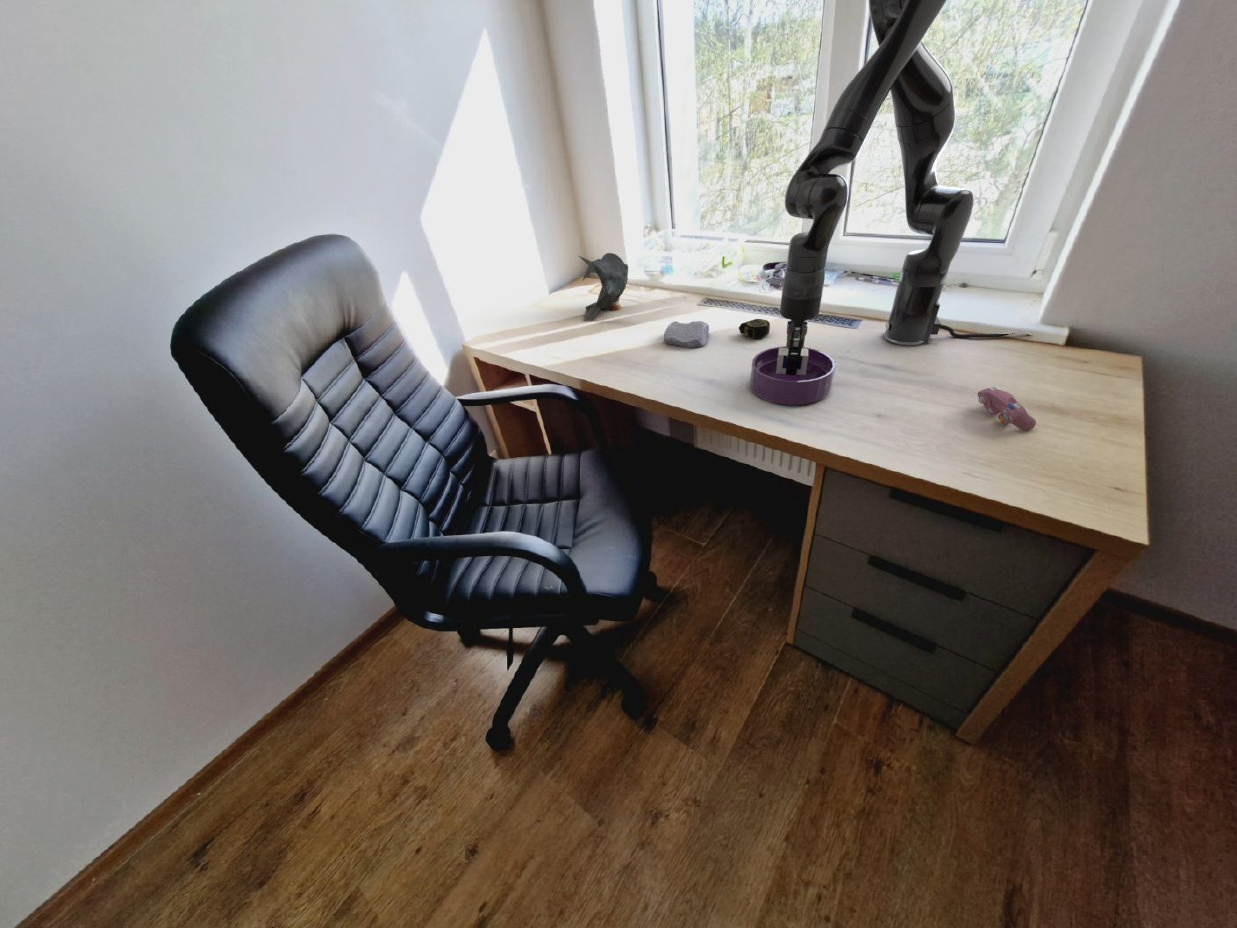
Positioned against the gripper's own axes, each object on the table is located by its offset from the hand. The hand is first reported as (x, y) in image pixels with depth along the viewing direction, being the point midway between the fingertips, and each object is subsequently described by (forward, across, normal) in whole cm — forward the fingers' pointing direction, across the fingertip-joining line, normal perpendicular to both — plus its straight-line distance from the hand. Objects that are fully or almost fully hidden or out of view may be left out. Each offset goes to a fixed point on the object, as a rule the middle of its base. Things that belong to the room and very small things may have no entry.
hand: (791, 369), depth 103 cm
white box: (0, 0, 0) cm, 0 cm away
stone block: (+5, +23, +28) cm, 36 cm away
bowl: (+4, 0, 0) cm, 4 cm away
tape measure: (+5, +28, +10) cm, 30 cm away
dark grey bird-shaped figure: (+5, +45, +58) cm, 73 cm away
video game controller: (+5, -8, -38) cm, 39 cm away
